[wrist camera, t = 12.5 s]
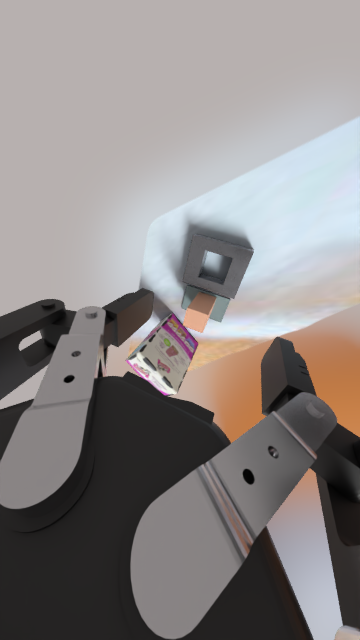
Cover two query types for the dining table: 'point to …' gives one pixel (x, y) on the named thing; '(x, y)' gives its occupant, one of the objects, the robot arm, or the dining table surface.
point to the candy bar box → (164, 355)
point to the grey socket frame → (205, 244)
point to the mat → (217, 309)
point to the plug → (199, 312)
